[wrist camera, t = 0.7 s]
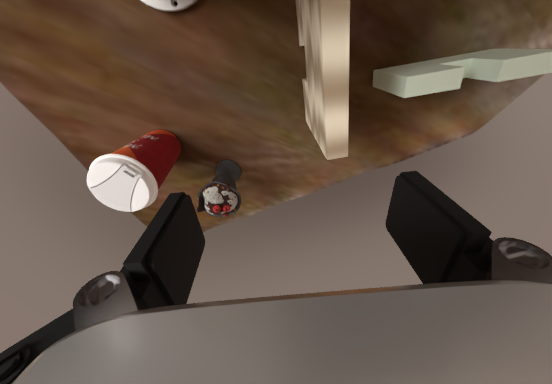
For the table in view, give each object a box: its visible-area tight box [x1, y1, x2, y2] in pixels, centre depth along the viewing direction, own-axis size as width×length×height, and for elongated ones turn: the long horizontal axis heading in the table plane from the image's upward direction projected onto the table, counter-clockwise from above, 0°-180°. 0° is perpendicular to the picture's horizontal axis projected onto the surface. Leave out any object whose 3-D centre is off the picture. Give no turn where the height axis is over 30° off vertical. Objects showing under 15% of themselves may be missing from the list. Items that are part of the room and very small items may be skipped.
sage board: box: [373, 49, 552, 98], centre depth 32 cm, size 2×18×10 cm, turn 99°
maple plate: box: [296, 0, 350, 160], centre depth 28 cm, size 18×2×16 cm, turn 9°
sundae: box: [197, 160, 241, 217], centre depth 38 cm, size 7×7×15 cm
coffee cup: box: [87, 129, 181, 212], centre depth 35 cm, size 8×8×15 cm
